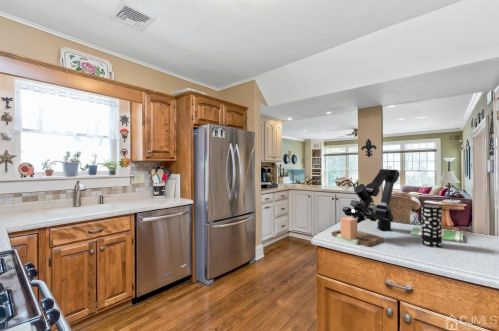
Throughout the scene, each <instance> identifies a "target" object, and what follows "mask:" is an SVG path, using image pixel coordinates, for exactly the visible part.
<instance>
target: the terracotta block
mask: <svg viewBox="0 0 499 331" xmlns="http://www.w3.org/2000/svg"><path fill="white" fill-rule="evenodd" d="M340 230H341V237H344V238H347V239H353V238H357V231H358V224H357V219H354V218H352V217H351V216H346V217H341V218H340Z"/></svg>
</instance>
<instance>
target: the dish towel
mask: <svg viewBox="0 0 499 331" xmlns="http://www.w3.org/2000/svg"><path fill="white" fill-rule="evenodd" d="M409 233H410V235H411V236H416V237H421V227H419V226H417V225H414V226H413V228H412V229H411V231H410V232H409ZM442 241H448V242H456V243H457V242H458V243H464V241H465V240H464V232H462V231H458V230H448V229H442Z"/></svg>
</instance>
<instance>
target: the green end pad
mask: <svg viewBox="0 0 499 331" xmlns="http://www.w3.org/2000/svg"><path fill="white" fill-rule="evenodd" d="M336 239H338V240H340V241H344V242H346V243H350V244H353V245H359V244H358V240H359V239H355V238H353V239H347V238H344V237H341V234H338V235H337V237H336Z"/></svg>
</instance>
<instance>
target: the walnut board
mask: <svg viewBox="0 0 499 331" xmlns="http://www.w3.org/2000/svg"><path fill="white" fill-rule="evenodd" d="M338 234H341V229H339V230H334V231H331V236H333V237H334V238H335V237H336V238H337V235H338ZM355 239H359V240H358V244H357V245H360V246H364V247H367V248H368V247H371V246H374V245H377V244H380V243H383V242H384V237H383V236H379V235H376V234H372V233H368V232H364V231H361V230H357V238H355Z"/></svg>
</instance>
